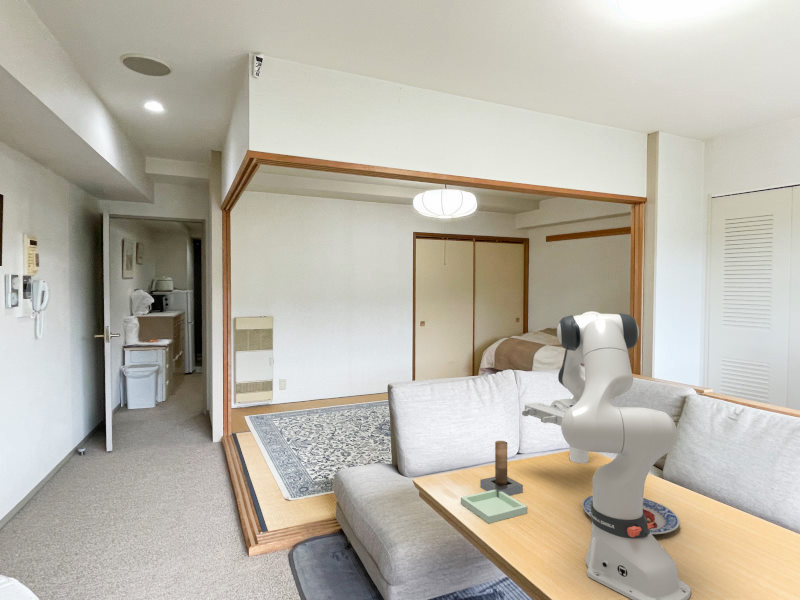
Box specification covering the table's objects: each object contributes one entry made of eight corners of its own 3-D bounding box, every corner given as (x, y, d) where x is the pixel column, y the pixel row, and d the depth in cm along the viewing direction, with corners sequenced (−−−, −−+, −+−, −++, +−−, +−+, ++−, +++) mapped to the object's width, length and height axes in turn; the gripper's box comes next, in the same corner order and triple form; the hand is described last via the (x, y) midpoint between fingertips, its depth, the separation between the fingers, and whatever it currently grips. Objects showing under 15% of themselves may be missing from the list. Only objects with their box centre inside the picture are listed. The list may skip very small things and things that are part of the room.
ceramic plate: (695, 545, 122) (695, 534, 122) (592, 536, 127) (591, 525, 127) (661, 503, 148) (661, 494, 148) (575, 496, 153) (575, 487, 153)
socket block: (522, 493, 154) (522, 484, 154) (498, 499, 150) (498, 490, 150) (503, 483, 163) (503, 474, 163) (480, 488, 159) (480, 479, 159)
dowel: (509, 490, 156) (509, 443, 156) (500, 492, 154) (500, 445, 154) (502, 486, 159) (502, 440, 159) (492, 488, 157) (492, 441, 157)
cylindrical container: (585, 464, 181) (585, 400, 181) (567, 460, 186) (567, 398, 185) (590, 459, 187) (590, 397, 187) (572, 455, 191) (572, 395, 191)
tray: (527, 514, 139) (527, 506, 139) (488, 525, 133) (488, 516, 133) (497, 496, 152) (497, 488, 152) (460, 505, 146) (460, 497, 146)
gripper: (541, 397, 176) (512, 401, 170) (584, 409, 157) (553, 414, 151) (541, 414, 176) (512, 418, 170) (584, 428, 157) (553, 433, 151)
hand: (532, 416), depth 160 cm, fingers open, 8 cm apart
